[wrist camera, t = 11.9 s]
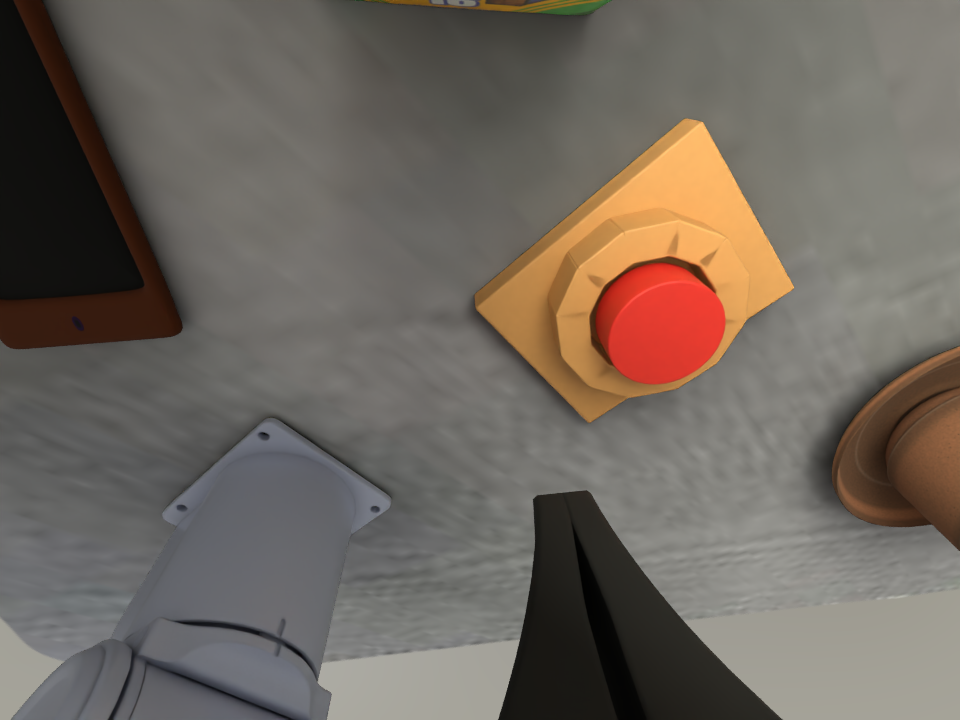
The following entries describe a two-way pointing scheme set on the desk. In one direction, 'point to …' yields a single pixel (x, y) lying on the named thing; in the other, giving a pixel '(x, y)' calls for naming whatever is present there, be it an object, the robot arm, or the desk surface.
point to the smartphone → (65, 207)
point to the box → (634, 266)
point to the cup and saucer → (906, 451)
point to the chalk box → (512, 5)
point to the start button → (659, 323)
